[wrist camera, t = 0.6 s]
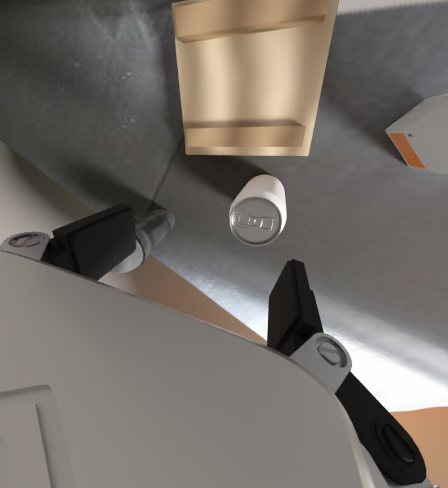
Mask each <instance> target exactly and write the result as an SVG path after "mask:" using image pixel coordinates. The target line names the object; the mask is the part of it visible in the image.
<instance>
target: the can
mask: <svg viewBox="0 0 448 488" xmlns="http://www.w3.org/2000/svg"><path fill="white" fill-rule="evenodd" d="M285 222H286V202H285V192H284V188H283V185H282V184H281V182H280V181H279V180H278V179H277V178H275V177H273V176H271V175H259V176H256V177H254V178H252V179H251V180H250V181H249V182H248V183H247V184H246V186H245V187H244V188H243V189H242V191H241V192H240V193H239V194H238V196H237V197H236V198H235V200H234V201H233V203H232V205H231V208H230V212H229V224H230V228H231V231H232V233H233V234H234V236H235V237H236V238H237V239H238V240H239V241H241V242H243V243H244V244H247V245H250V246H263V245H266V244H268V243H270V242H272V241H273V240H275V239H276V238H277V236H278V235H279V234H280V232H281V231H282V229H283V228H284V225H285Z"/></svg>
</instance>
